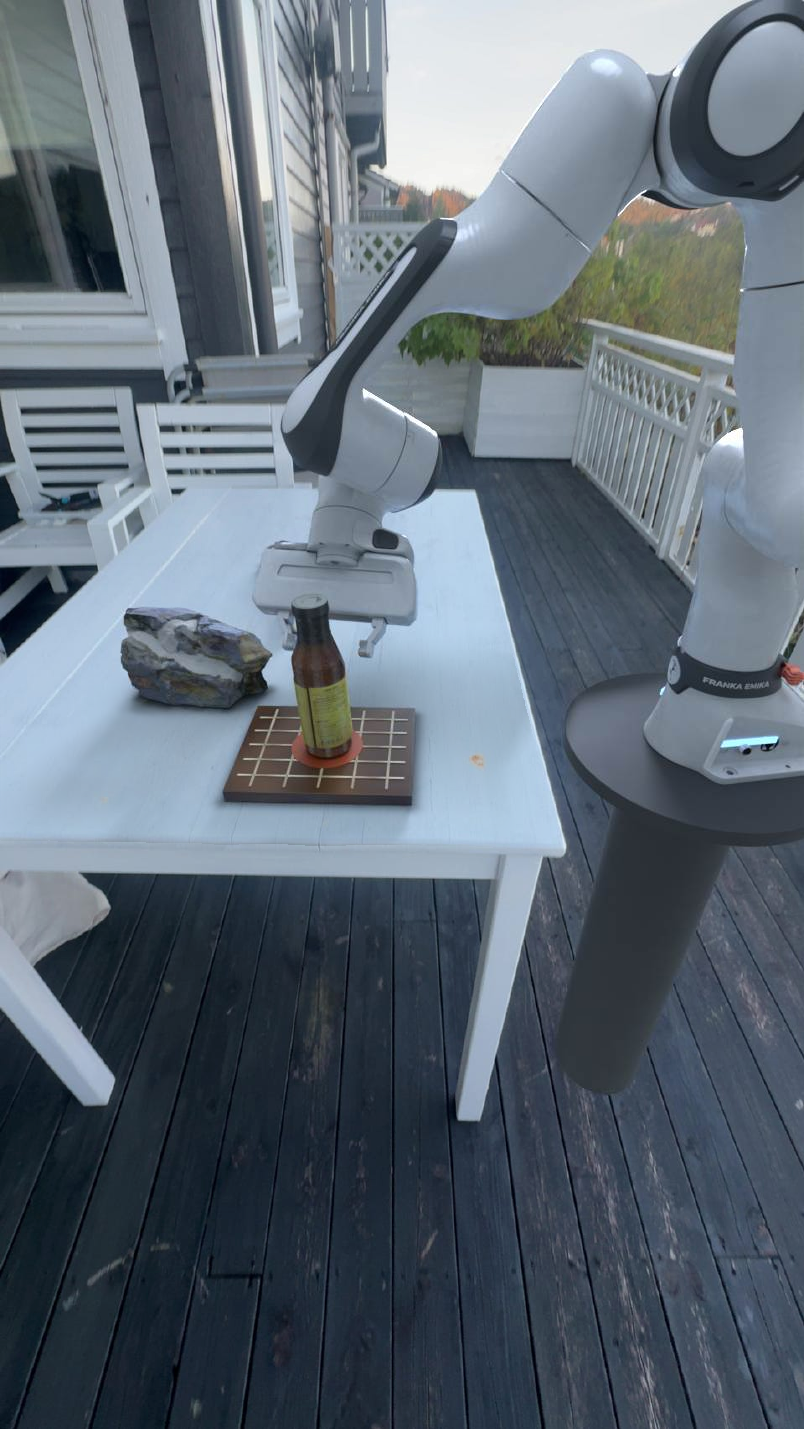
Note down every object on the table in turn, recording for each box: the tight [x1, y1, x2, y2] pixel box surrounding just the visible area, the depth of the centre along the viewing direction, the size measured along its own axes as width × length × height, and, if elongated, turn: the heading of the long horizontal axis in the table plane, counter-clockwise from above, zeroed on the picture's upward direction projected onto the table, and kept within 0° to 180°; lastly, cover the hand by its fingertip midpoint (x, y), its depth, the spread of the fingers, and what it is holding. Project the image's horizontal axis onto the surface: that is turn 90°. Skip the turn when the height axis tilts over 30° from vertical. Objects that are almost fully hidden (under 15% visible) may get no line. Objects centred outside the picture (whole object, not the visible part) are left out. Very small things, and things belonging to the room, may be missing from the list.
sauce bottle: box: [290, 594, 353, 758], centre depth 74 cm, size 6×6×20 cm
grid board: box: [222, 704, 416, 806], centre depth 80 cm, size 22×18×2 cm
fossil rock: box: [120, 606, 273, 709], centre depth 89 cm, size 20×9×15 cm, turn 76°
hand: (326, 653), depth 75 cm, fingers open, 8 cm apart
